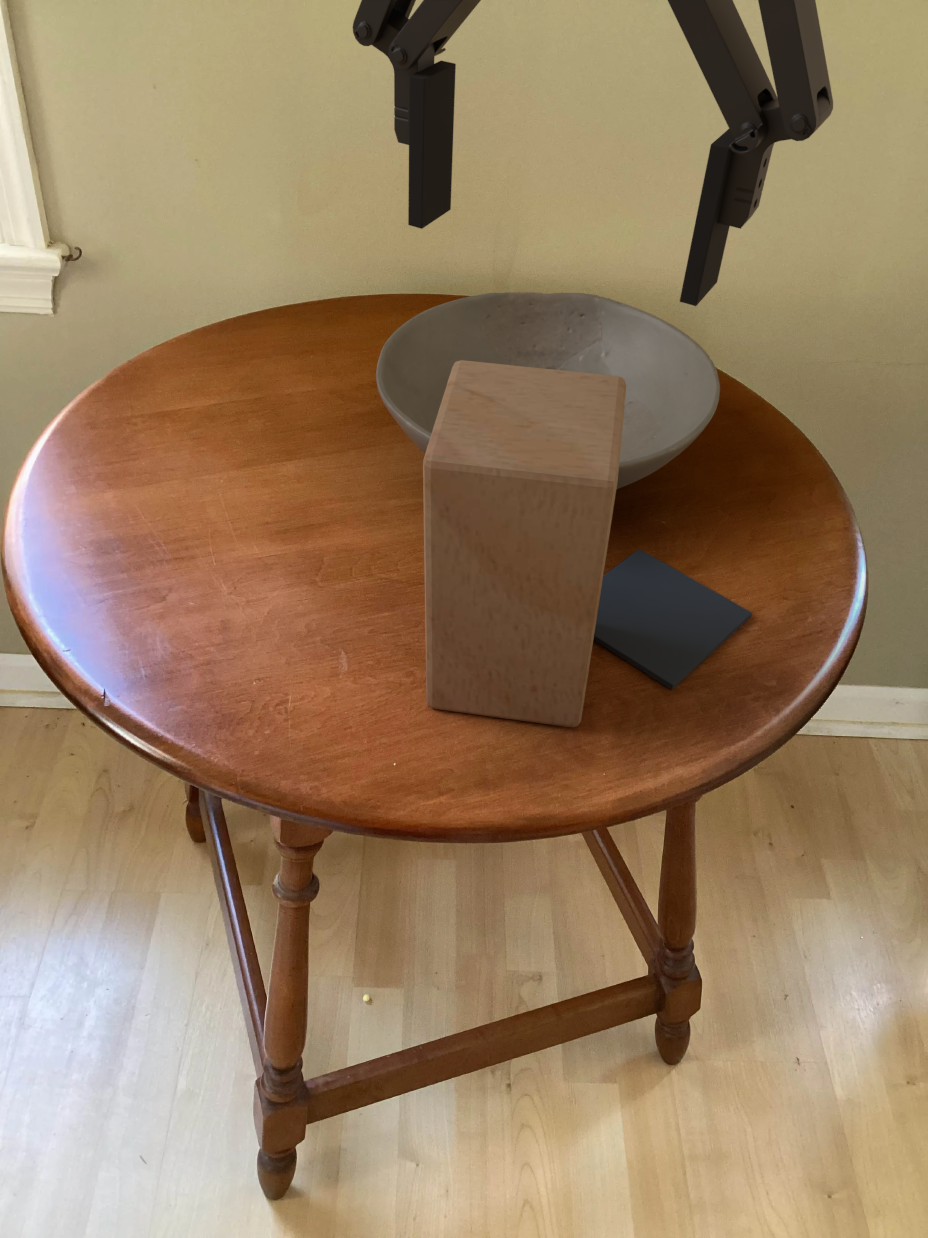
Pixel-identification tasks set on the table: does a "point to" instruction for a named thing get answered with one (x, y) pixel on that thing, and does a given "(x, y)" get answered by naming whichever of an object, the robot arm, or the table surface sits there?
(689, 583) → the mat
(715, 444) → the table surface
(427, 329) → the bowl
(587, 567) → the wooden block
